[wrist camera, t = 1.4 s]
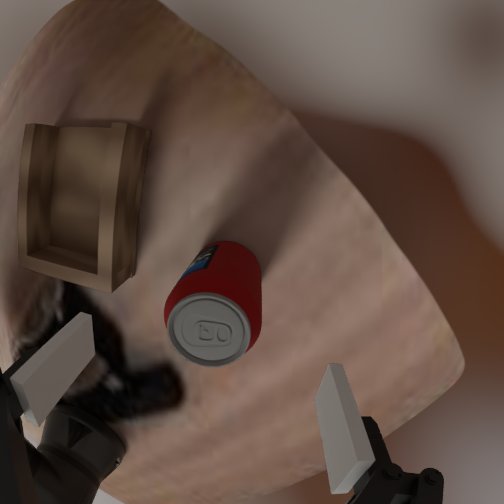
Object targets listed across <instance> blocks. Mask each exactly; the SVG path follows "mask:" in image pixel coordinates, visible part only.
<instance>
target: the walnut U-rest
mask: <svg viewBox="0 0 504 504" xmlns="http://www.w3.org/2000/svg"><path fill="white" fill-rule="evenodd" d="M150 134H151V130H147V129H143V128H140V127H137V126H135V125H132V124H129V123H114V122H112V124H111V127H56V126H50V125H43V124H26V127H25V133H24V139H23V146H22V154H21V163H20V174H19V188H18V254H19V266H20V267H23V268H26V269H29V270H32V271H35V272H38V273H42V274H45V275H48V276H51V277H55V278H58V279H61V280H65V281H68V282H72V283H75V284H79V285H82V286H86V287H90V288H93V289H97V290H101V291H105V292H108V293H112V292H114V291H115V290H116V289H117V288H118V287H119V286H120V285H121V284H123V283H124V282H125V281H126V280H127V279H128V278H129V277H130V278H132V277H133V276H134V275H135V258H136V244H137V231H138V220H139V211H140V202H141V193H142V185H143V178H144V171H145V164H146V158H147V152H148V146H149V140H150Z"/></svg>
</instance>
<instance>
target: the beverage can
mask: <svg viewBox="0 0 504 504" xmlns="http://www.w3.org/2000/svg"><path fill="white" fill-rule="evenodd" d="M164 320H165V325H166V328H167V332H168V337H169V340H170V342H171V344H172V346H173V347H174V348H175V350H176V351H177V352H178V353H179V354H180V355H181V356H182V357H184V358H185V359H187V360H188V361H190V362H192V363H194V364H197V365H200V366H204V367H222V366H226V365H229V364H231V363H233V362H235V361H237V360H238V359H239V358H240V357H241V356H242V355H243V354H244V353H246V352H247V351H248V350H249V349H250V348H251V347H252V346H253V345H254V344H255V342H256V341H257V339H258V337H259V334H260V331H261V324H262V290H261V271H260V266H259V263H258V261H257V259H256V258H255V256H254V255H253V254H252V253H251V251H249V250H248V249H247V248H246V247H244V246H242V245H240V244H238V243H235V242H229V241H221V242H216V243H213V244H210V245H208V246H207V247H205V248H204V249H203V250H202V251H201V252H200V253H199V254H198V255H197V256H196V258H195V259H194V260H193V262H192V263H191V264H190V266H189V267H188V268H187V270H186V271H185V273H184V274H183V275H182V277H181V278H180V280H179V281H178V282H177V284H176V285H175V287H174V288H173V290H172V291H171V293H170V295H169V296H168V298H167V301H166V304H165V308H164Z"/></svg>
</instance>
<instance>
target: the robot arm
mask: <svg viewBox="0 0 504 504" xmlns="http://www.w3.org/2000/svg"><path fill="white" fill-rule="evenodd" d="M94 355H95V348H94V339H93V328H92V315H89V314H86V313H82V312H80V313H79V314H78V315H77V316H75V317H74V318H73V319H72V320H71V321H70V322H69V323H68V324H66V325H65V326H64V327H63V328H62V329H61V330H60V331H59V332H58V333H56V334H55V335H54V336H53V337H52V338H51V339H50V340H49V341H48V342H47V343H46V344H45V345H43V346H42V347H41V348H40V349H39V348H37V347H35V348H32V349H30V350H28V351H27V352H26V353H24V354H23V355H22V357H20V358H19V359H18V360H17V362H15V363H14V364H13V365H12V366H11V367H9V368H8V369H7V370H6V371H5V372H4V373H3V374H2V371H1V368H0V504H92V503H93V500H94V498H95V495H96V493H97V490H98V488H99V486H100V484H101V482H102V481H103V480H104V479H105V478H106V477H107V476H108V475H109V474H111V473H112V472H113V471H114V470H115V469H116V468H117V467H118V466H119V465H120V463H121V462H122V459H123V457H124V454H125V448H124V446H123V444H122V442H121V440H120V439H119V437H118V436H117V435H116V434H115V433H114V432H113V431H112V430H111V429H110V428H109V427H108V426H107V425H105V424H104V423H103V422H102V421H100V420H99V419H97V418H96V417H94V416H93V415H91V414H90V413H88V412H86V411H84V410H82V409H80V408H77V407H75V406H72V405H68V404H57V402H58V401H59V400H60V398H61V397H62V396H63V395H64V393H65V392H66V391H67V389H68V388H69V387H70V386H71V384H72V383H73V382H74V380H75V379H76V378H77V377H78V375H79V374H80V373H81V372H82V370H83V369H84V368H85V367H86V365H87V364H88V363H89V362H90V360H91V359H92V358H93V357H94ZM314 401H315V406H316V411H317V417H318V422H319V427H320V432H321V438H322V443H323V449H324V454H325V460H326V466H327V471H328V477H329V483H330V489H331V494H338V493H348V492H349V491H350V489H351V488H352V487H353V489H354V493H355V494H354V495H353V496H352V497H351V498H350V499H349V500H348V501H347V502H346V504H442V501H443V486H444V479H443V475H442V474H441V472H439V471H438V470H436V469H434V468H426V469H424V470H423V471H422V472H421V473H420V474H414V473H406V472H403V470H402V469H401V467H400V466H398V465H397V464H394V463H392V462H391V459H390V457H389V454H388V451H387V449H386V446H385V443H384V440H382V435H381V433H380V430H379V427H378V425H377V423H376V422H375V421H374V420H373V419H372V417H371V416H368V417H361V415H360V413H359V410H358V407H357V404H356V401H355V398H354V396H353V393H352V390H351V387H350V384H349V382H348V379H347V376H346V374H345V371H344V368H343V365H342V364H336V363H329V364H328V366H327V369H326V372H325V374H324V377H323V379H322V382H321V384H320V386H319V389H318V391H317V394H316V396H315V398H314ZM56 404H57V405H56ZM23 412H24V415H25V417H26V419H27V421H29V422H31V423H32V424H34V425H36V426H38V427H40V425H41V424H42V422H43V421H44V420H45V418H46V421H45V425H44V429H43V434H42V439H41V442H40V444H39V446H38V447H37V449H36V448H35V447H34V446H33V445H32V444H31V443H30V442H29V441H28V440H27V439H26V438H25V437H24V433H23V426H22V420H21V418H20V416H21V415H22V414H23Z"/></svg>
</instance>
